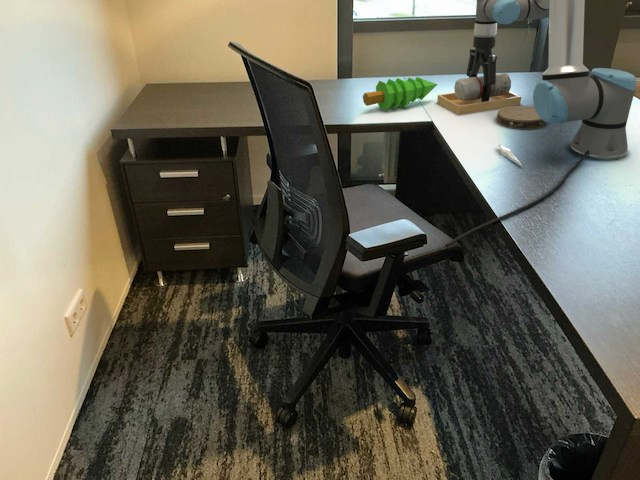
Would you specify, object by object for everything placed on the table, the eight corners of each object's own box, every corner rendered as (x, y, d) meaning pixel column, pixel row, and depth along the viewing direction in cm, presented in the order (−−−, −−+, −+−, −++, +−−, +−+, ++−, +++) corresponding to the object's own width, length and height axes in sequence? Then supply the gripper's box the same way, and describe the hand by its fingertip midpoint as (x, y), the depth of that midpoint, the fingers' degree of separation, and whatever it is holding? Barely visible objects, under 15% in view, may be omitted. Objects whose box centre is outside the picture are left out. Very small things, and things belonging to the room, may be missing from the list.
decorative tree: (361, 77, 200) (434, 63, 208) (358, 102, 209) (427, 88, 217) (374, 96, 194) (449, 81, 202) (370, 121, 203) (441, 106, 211)
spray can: (508, 67, 202) (459, 75, 198) (514, 88, 201) (465, 96, 197) (496, 78, 211) (449, 85, 206) (502, 98, 210) (455, 106, 205)
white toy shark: (494, 149, 168) (495, 143, 167) (502, 148, 168) (503, 142, 167) (516, 169, 155) (517, 162, 154) (525, 167, 155) (526, 161, 154)
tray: (495, 94, 216) (496, 86, 214) (520, 104, 203) (521, 96, 202) (437, 103, 210) (437, 95, 208) (458, 115, 197) (459, 106, 195)
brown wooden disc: (506, 111, 198) (507, 103, 196) (551, 118, 189) (553, 109, 188) (489, 124, 187) (490, 116, 185) (537, 132, 178) (538, 123, 177)
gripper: (511, 39, 186) (503, 105, 198) (477, 29, 203) (472, 91, 215) (492, 42, 184) (485, 108, 196) (459, 31, 201) (455, 93, 213)
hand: (478, 99), depth 205 cm, fingers closed on spray can, 8 cm apart
